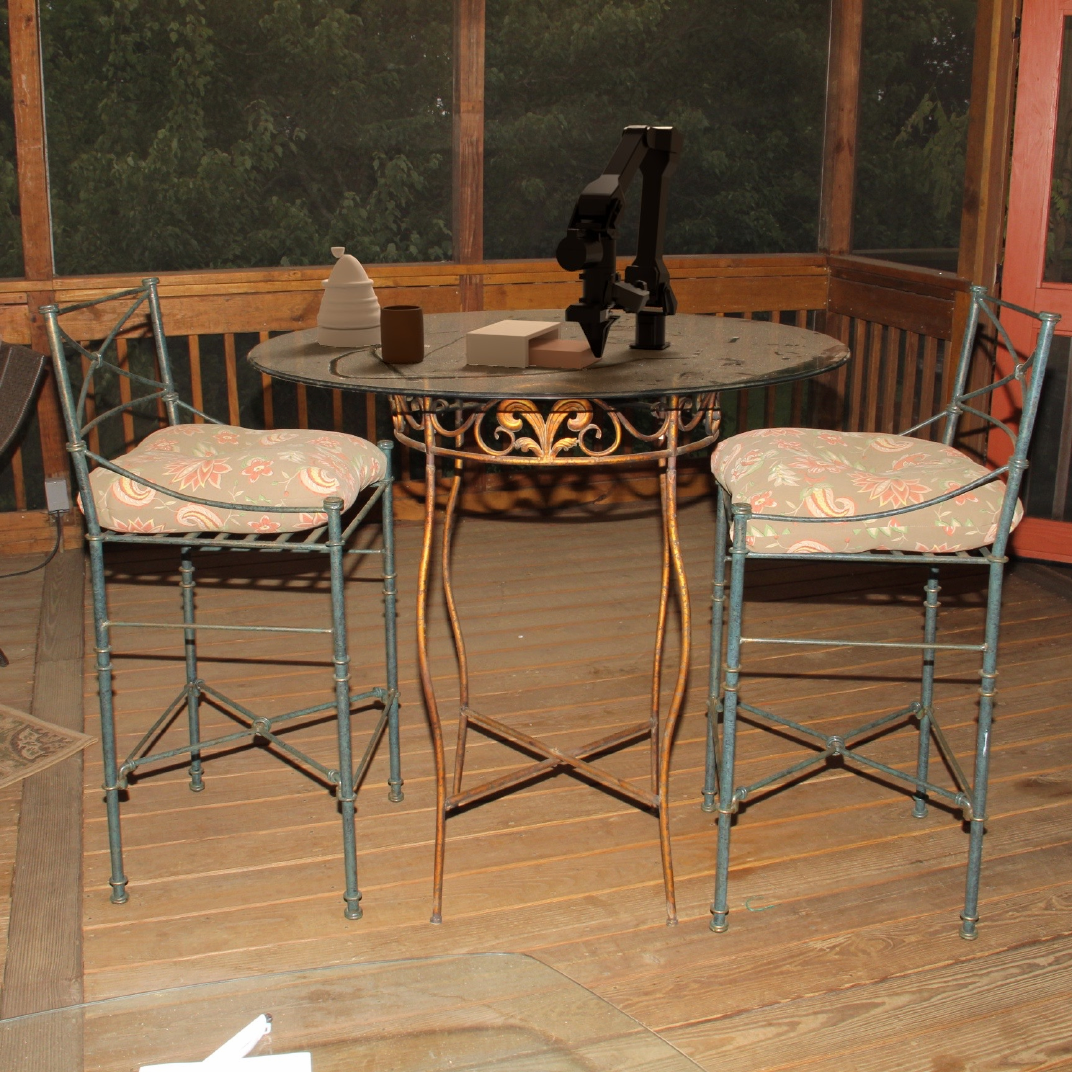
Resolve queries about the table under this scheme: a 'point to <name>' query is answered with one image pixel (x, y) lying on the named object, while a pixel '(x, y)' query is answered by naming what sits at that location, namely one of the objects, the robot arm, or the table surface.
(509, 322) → the bridge
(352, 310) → the honey pot
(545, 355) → the block
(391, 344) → the mug
